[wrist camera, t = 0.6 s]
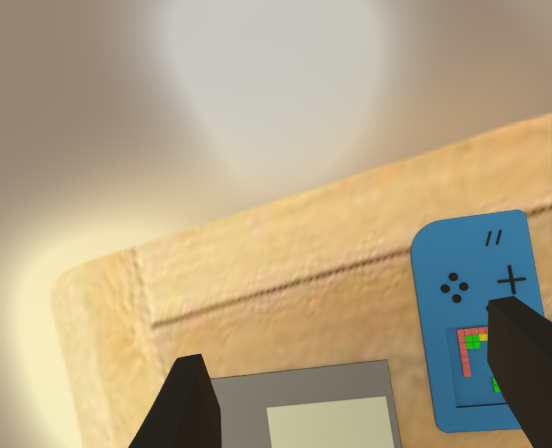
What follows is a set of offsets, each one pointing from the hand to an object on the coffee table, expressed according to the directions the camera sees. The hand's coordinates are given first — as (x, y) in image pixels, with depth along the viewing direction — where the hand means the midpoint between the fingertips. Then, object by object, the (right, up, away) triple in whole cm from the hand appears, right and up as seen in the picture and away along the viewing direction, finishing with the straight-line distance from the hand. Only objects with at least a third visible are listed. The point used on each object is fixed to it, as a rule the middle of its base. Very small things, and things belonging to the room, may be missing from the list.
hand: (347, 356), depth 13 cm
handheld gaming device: (+13, -4, +25) cm, 28 cm away
